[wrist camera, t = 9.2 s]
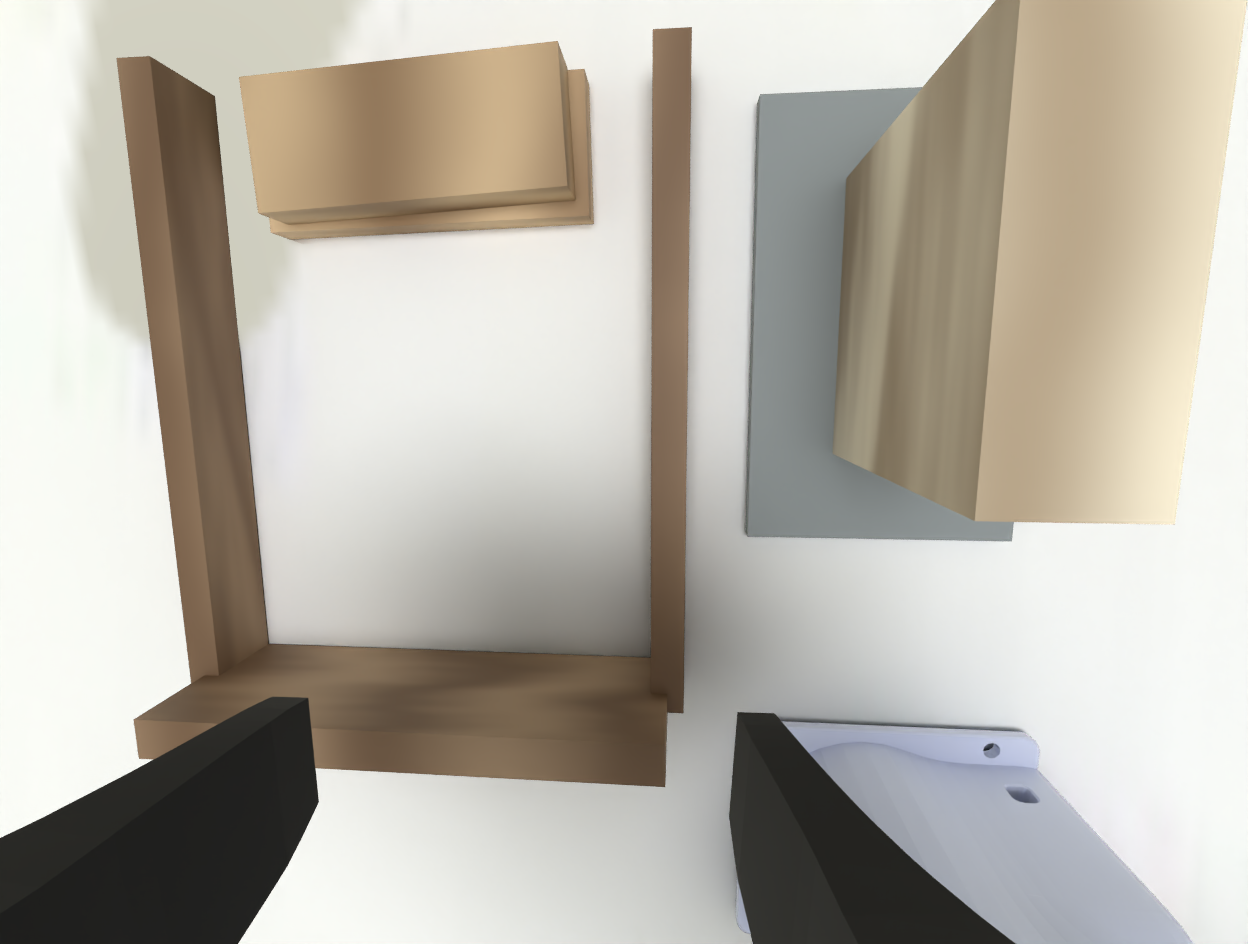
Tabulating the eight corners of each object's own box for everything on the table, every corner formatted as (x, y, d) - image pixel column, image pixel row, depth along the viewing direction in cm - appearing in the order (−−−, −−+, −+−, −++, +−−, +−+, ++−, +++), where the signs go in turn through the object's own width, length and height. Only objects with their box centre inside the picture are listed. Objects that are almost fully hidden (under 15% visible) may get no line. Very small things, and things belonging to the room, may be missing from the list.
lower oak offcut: (592, 95, 19) (584, 68, 17) (596, 229, 19) (589, 215, 18) (289, 116, 20) (255, 93, 18) (302, 244, 20) (270, 232, 19)
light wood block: (954, 175, 17) (1253, -45, 8) (933, 454, 18) (1175, 524, 9) (846, 178, 17) (1022, -32, 9) (832, 453, 19) (975, 521, 10)
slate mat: (1042, 91, 17) (1055, 81, 17) (1001, 536, 19) (1011, 541, 19) (757, 103, 18) (760, 94, 17) (745, 531, 20) (747, 536, 19)
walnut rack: (689, 73, 18) (694, -43, 13) (682, 691, 21) (684, 787, 16) (185, 97, 19) (15, 0, 14) (245, 673, 22) (122, 757, 17)
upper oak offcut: (567, 68, 17) (557, 40, 16) (575, 200, 18) (567, 185, 16) (272, 99, 18) (239, 76, 17) (289, 225, 19) (258, 213, 17)
